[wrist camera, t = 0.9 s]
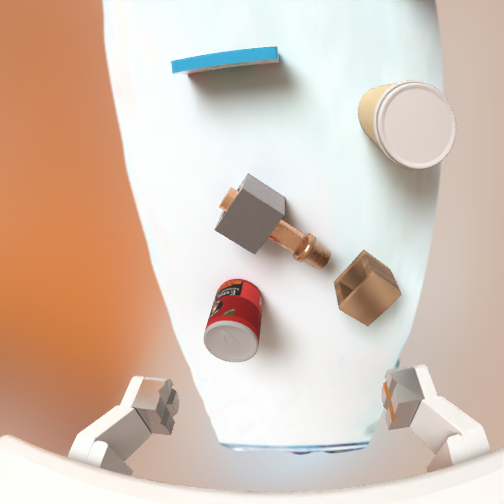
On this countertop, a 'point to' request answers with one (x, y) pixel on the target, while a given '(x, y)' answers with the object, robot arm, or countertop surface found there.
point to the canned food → (234, 321)
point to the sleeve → (252, 214)
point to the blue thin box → (226, 60)
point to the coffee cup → (409, 123)
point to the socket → (366, 289)
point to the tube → (291, 239)
